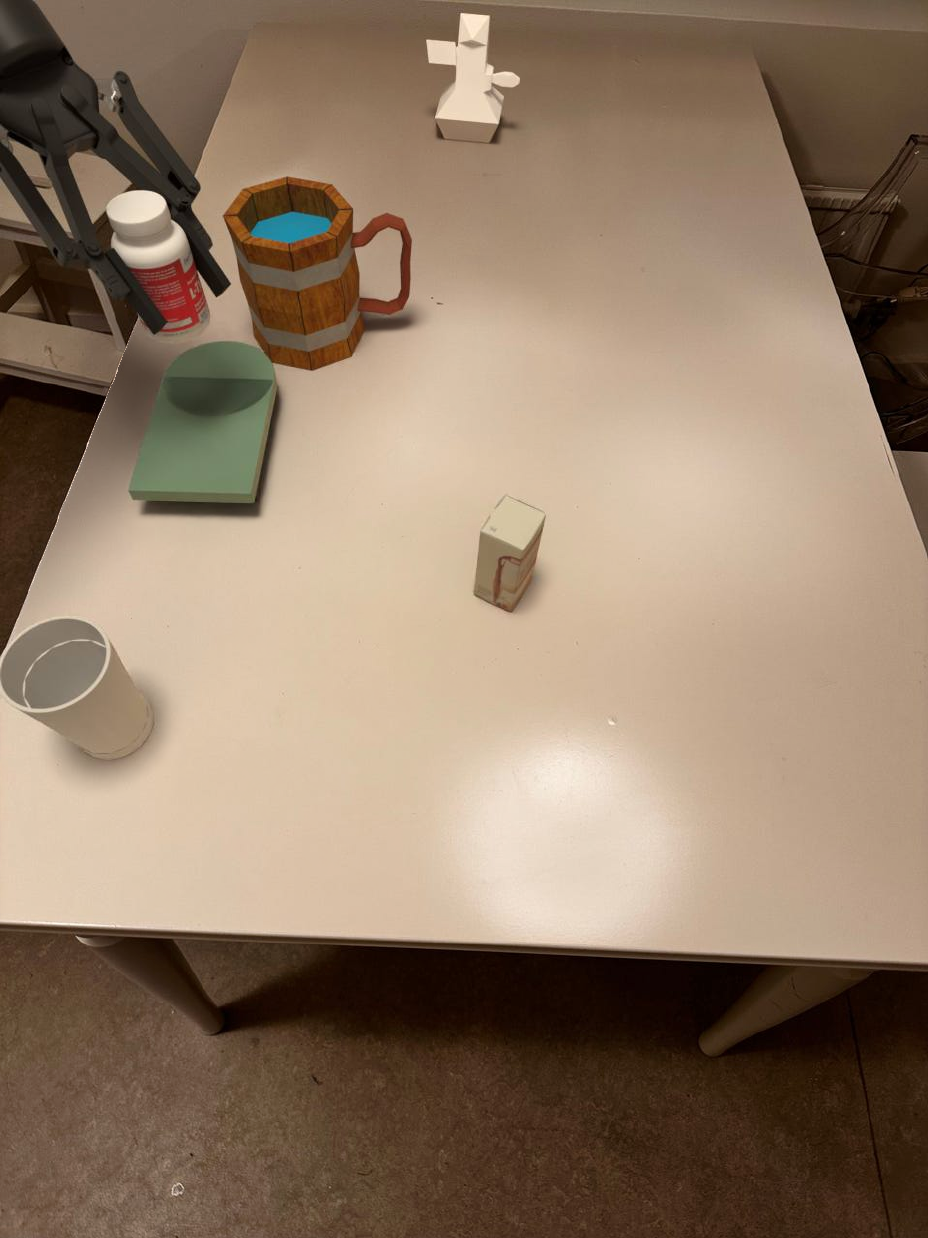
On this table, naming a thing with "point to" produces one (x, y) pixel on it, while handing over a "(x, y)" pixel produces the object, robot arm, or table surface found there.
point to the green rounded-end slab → (208, 427)
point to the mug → (306, 269)
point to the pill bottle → (159, 263)
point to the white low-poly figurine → (470, 83)
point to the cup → (76, 686)
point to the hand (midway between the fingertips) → (192, 308)
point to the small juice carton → (508, 551)
